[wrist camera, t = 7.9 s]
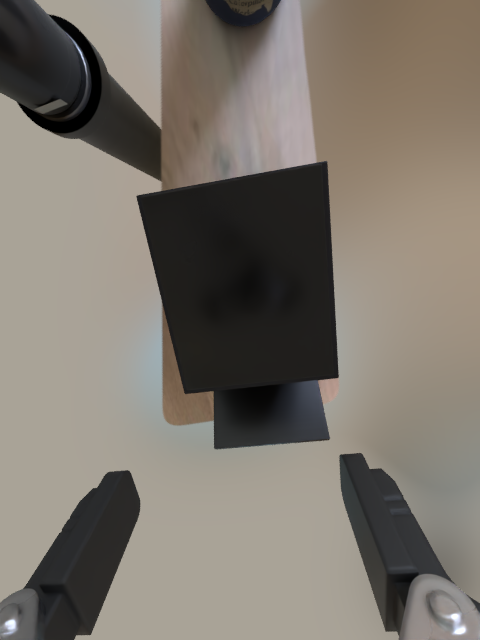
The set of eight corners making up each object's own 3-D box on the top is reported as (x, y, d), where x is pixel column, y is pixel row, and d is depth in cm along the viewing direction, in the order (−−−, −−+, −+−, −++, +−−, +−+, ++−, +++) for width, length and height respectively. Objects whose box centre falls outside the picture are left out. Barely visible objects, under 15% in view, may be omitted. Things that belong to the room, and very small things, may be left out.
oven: (303, 315, 39) (341, 382, 22) (214, 327, 40) (182, 398, 23) (293, 194, 34) (329, 158, 17) (192, 212, 36) (132, 194, 18)
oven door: (304, 340, 40) (324, 443, 33) (220, 350, 42) (222, 452, 35) (306, 324, 36) (330, 439, 29) (212, 336, 38) (214, 448, 30)
